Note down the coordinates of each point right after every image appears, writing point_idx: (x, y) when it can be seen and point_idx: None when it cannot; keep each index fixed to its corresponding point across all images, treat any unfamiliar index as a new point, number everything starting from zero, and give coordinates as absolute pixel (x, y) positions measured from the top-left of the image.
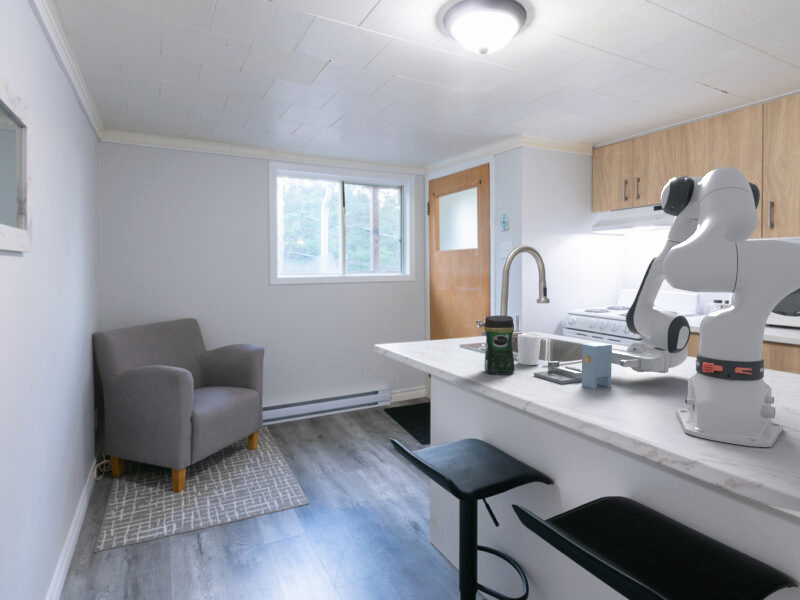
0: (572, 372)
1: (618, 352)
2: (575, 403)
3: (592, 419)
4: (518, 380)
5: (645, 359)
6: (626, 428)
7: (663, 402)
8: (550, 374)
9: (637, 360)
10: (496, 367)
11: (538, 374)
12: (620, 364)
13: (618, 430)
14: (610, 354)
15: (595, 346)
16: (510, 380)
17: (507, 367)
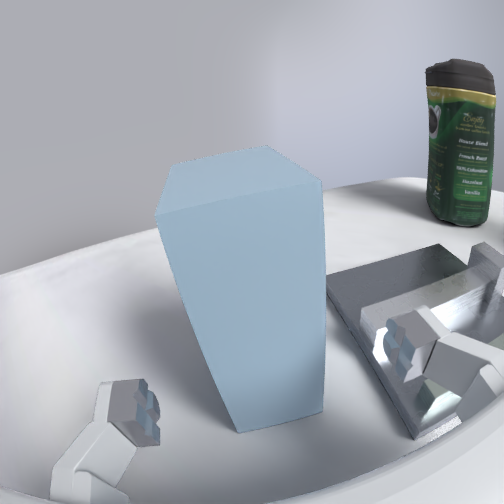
0: (386, 300)
1: (391, 490)
2: (139, 261)
3: (75, 256)
4: (373, 223)
5: (2, 487)
6: (32, 273)
7: (12, 426)
8: (425, 271)
9: (55, 473)
10: (427, 188)
11: (423, 249)
12: (154, 395)
13: (37, 265)
14: (181, 289)
15: (172, 166)
16: (371, 214)
17: (433, 198)
